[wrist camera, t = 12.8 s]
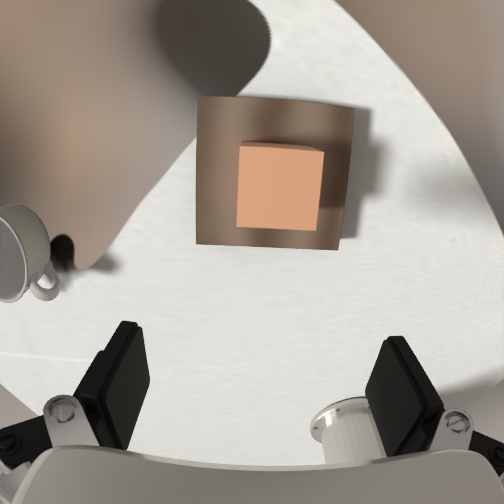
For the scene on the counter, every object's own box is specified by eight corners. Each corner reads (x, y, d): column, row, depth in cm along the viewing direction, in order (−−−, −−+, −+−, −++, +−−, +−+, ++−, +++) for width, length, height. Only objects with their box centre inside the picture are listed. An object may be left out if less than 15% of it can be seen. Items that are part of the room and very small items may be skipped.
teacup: (-6, 236, 33) (-41, 260, 26) (20, 177, 30) (-22, 194, 23) (58, 303, 37) (30, 337, 30) (93, 252, 34) (60, 283, 27)
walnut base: (344, 109, 28) (354, 108, 26) (331, 239, 34) (337, 250, 31) (203, 99, 28) (198, 96, 25) (200, 233, 33) (196, 244, 31)
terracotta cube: (309, 146, 27) (324, 152, 21) (303, 209, 29) (315, 230, 24) (241, 141, 27) (239, 146, 21) (239, 206, 29) (236, 226, 24)
